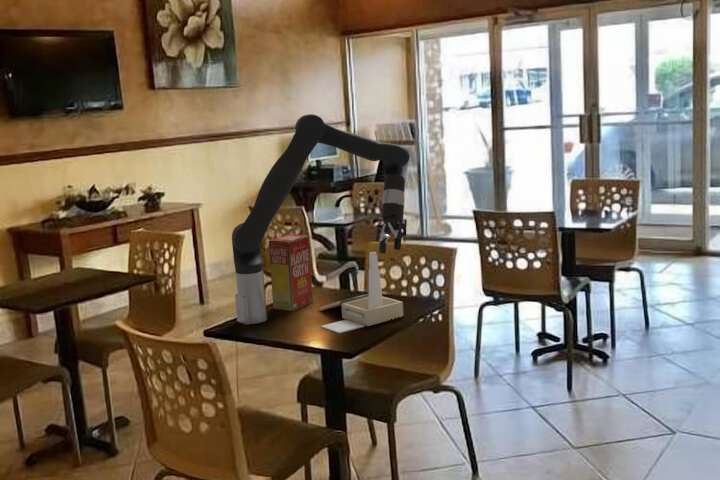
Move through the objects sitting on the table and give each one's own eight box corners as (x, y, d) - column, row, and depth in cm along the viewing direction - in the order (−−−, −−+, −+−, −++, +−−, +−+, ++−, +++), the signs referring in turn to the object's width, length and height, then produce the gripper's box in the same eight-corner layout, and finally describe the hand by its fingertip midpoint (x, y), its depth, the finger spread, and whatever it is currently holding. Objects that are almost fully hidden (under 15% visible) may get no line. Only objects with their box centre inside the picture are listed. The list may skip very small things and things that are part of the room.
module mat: (339, 333, 244) (339, 332, 244) (321, 327, 252) (321, 326, 252) (364, 326, 250) (364, 325, 250) (346, 320, 258) (346, 319, 258)
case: (365, 326, 249) (364, 309, 248) (338, 318, 261) (336, 301, 260) (403, 316, 259) (402, 299, 258) (375, 308, 271) (374, 291, 270)
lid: (319, 307, 272) (320, 309, 272) (339, 300, 261) (340, 303, 261) (352, 299, 280) (353, 301, 280) (373, 292, 270) (374, 294, 270)
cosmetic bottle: (381, 313, 264) (377, 249, 260) (388, 317, 259) (385, 252, 255) (364, 316, 262) (360, 252, 258) (371, 320, 256) (368, 255, 252)
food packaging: (293, 311, 273) (287, 241, 268) (271, 309, 278) (266, 240, 273) (314, 302, 284) (310, 234, 279) (293, 299, 289) (288, 233, 284)
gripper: (372, 206, 266) (368, 252, 262) (396, 198, 254) (392, 246, 250) (390, 211, 270) (386, 256, 266) (414, 203, 258) (411, 250, 254)
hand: (389, 251), depth 258 cm, fingers open, 8 cm apart
